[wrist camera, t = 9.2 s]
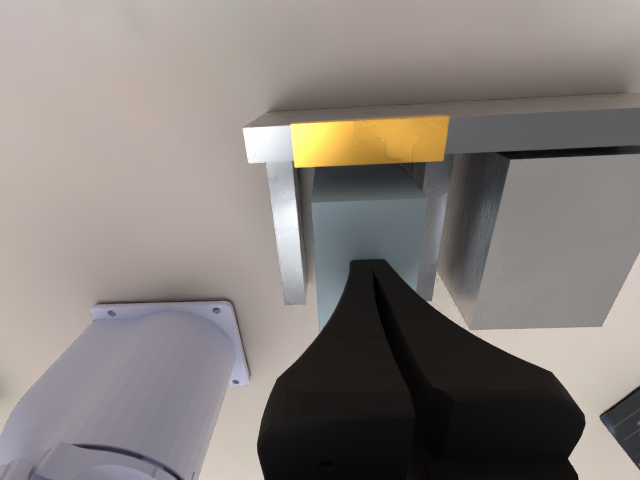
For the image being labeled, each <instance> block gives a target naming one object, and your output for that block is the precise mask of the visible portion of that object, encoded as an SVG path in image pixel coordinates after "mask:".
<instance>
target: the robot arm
mask: <svg viewBox="0 0 640 480" xmlns="http://www.w3.org/2000/svg"><path fill="white" fill-rule="evenodd" d="M349 265H350V270H349V275H348V279H347V282H346V285H345V288H344V290H343V293H342V295H341V297H340V300H339V302H338V304H337V306H336V308H335V310H334V312H333V313H332V315H331V317H330V319H329V320H328V322H327V323H326V325H325V326H324V328H323V329H322V331H321V332H320V334H319V335H318V336H317V338H316V339H315V340H314V341H313V343H312V344H311V345H310V346H309V347H308V348H307V350H306V351H305V352H304V353H303V354H302V355H301V356H300V357H299V359H298V360H297V361H296V362H295V363H293V364H292V365H291V366H290V367H289V368H288V369H287V370H286V371H285V372H284V373H283V374H282V375H281V376H280V377H279V378H277V380H276V383H275V385H274V387H273V389H272V392H271V394H270V396H269V399H268V402H267V404H266V407H265V410H264V414H263V417H262V421H261V426H260V431H259V436H258V442H257V453H258V457H259V460H260V464H261V468H262V472H263V475H264V479H265V480H579V479H578V474H577V473H576V471H575V469H574V468H573V466H572V465H571V463H570V461H569V460H568V458H569V456H570V454H571V453H572V451H573V449H574V448H575V446H576V444H577V443H578V441H579V439H580V438H581V436H582V433H583V430H584V427H585V424H586V423H585V415H584V413H583V412H582V411H581V409H580V408H579V407H578V405H577V404H576V402H575V401H574V400H573V398H572V397H571V396H570V394H569V393H568V391H567V390H566V389H565V387H564V386H563V385H562V384H561V383H560V381H559V380H558V379H557V378H556V377H555V376H554V374H553V373H552V372H550V371H548V370H545V369H543V368H541V367H539V366H536V365H534V364H532V363H529V362H527V361H525V360H522V359H520V358H518V357H515V356H513V355H511V354H509V353H507V352H505V351H503V350H501V349H499V348H497V347H495V346H493V345H491V344H489V343H488V342H486V341H484V340H482V339H480V338H478V337H477V336H475V335H473V334H472V333H470V332H468V331H467V330H465V329H464V328H462V327H460V326H459V325H457V324H456V323H454V322H453V321H451V320H450V319H448V318H447V317H446V316H444V315H443V314H442V313H440V312H439V311H437V310H436V309H435V308H434V307H432V306H431V305H430V304H429V303H427V302H426V301H425V300H424V299H423V298H422V297H420V296H419V295H418V294H417V293H416V292H415V291H414V290H413V289H412V288H411V287H410V286H409V285H408V284H407V283H406V282H405V281H404V280H403V279H402V278H401V277H400V276H399V275H398V273H397V272H396V271H395V270H394V269H393V268H392V267H391V266H390V264H389V263H388V262H387V261H386V260H385V259H369V260H352V261H351V262H350V263H349ZM215 307H216V308H219V309H220V310H218V309H216V308H215ZM113 311H114V312H113ZM89 312H90V315H91V316H92V318H93V320H94V321H93V322H92V323H91V324H90V325H89V326H88V327H87V328H86V329H85V331H84V332H83V333H82V334H81V335H80V336H79V337H78V338H77V339H76V340H75V341H74V342H73V343H72V344H71V345H70V346H69V348H68V349H67V350H66V351H65V352H64V353H63V354H62V355H61V356H60V357H59V358H58V359H57V360H56V361H55V362H54V363H53V364H52V366H51V367H50V368H49V369H48V370H47V371H46V372H45V373H44V374H43V375H42V376H41V377H40V378H39V379H38V380H37V381H36V383H35V384H34V385H33V386H32V387H31V388H30V389H29V390H28V391H27V392H26V393H25V394H24V396H23V397H22V398H21V399H20V401H19V402H18V403H17V405H16V406H15V408H14V409H13V411H12V413H11V414H10V416H9V418H8V420H7V422H6V424H5V426H4V429H3V431H2V434H1V437H0V480H198V478H199V474H200V471H201V468H202V465H203V462H204V459H205V456H206V452H207V449H208V446H209V443H210V440H211V437H212V433H213V430H214V427H215V424H216V421H217V418H218V415H219V411H220V408H221V405H222V402H223V399H224V396H225V392H226V389H227V386H246V385H248V384H249V381H250V376H249V372H248V368H247V364H246V359H245V355H244V351H243V347H242V343H241V338H240V334H239V330H238V326H237V321H236V317H235V313H234V309H233V306H232V304H231V303H230V302H227V301H204V302H169V303H134V304H99V305H94V306H93V307H92V308H91V309H90V311H89Z"/></svg>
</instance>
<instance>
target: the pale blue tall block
mask: <svg viewBox="0 0 640 480" xmlns="http://www.w3.org/2000/svg"><path fill="white" fill-rule="evenodd" d="M427 199H428V198H427V197H426V196H425V195H424V193H423V192H422V191H421V190H420V188H419V187H418V186H417V185H416V183H415V182H414V181H413V180H412V179H411V177H410V176H409V175H408V174H407V172H406V171H405V170H404V169H403V168H402V166H401V165H400V164H399V163H387V164H365V165H344V166H322V167H315V174H314V183H313V191H312V200H311V208H312V224H313V239H314V254H315V270H316V285H317V300H318V315H319V331H320V332H321V331H322V329H323V328H324V326H325V325H326V323H327V322H328V320H329V319H330V317H331V315H332V313H333V312H334V310H335V308H336V306H337V304H338V302H339V300H340V297H341V295H342V293H343V290H344V288H345V285H346V282H347V279H348V275H349V270H350V265H349V263H350V262H351V261H352V260H369V259H385V260H386V261H387V262H388V263H389V264H390V266H391V267H392V268H393V269H394V270H395V271H396V272H397V273H398V275H399V276H400V277H401V278H402V279H403V280H404V281H405V282H406V283H407V284H408V285H409V286H410V287H411V288H412V289H413V290H414V291H415V292H416V288H417V280H418V272H419V264H420V256H421V248H422V240H423V232H424V224H425V215H426V207H427Z"/></svg>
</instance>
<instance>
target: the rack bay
mask: <svg viewBox="0 0 640 480" xmlns="http://www.w3.org/2000/svg"><path fill="white" fill-rule="evenodd" d="M243 133H244V139H245V145H246V152H247V158H248V163H266V168H267V176H268V183H269V190H270V198H271V205H272V213H273V220H274V228H275V235H276V243H277V250H278V257H279V265H280V272H281V280H282V287H283V295H284V302H285V305H298V304H306V294H307V273H306V262H305V250H304V238H303V227H302V215H301V204H300V192H299V181H298V169H297V168H300V167H322V166H344V165H365V164H387V163H409V162H414V165H413V176H412V180H413V181H414V182H415V183H416V185H417V186H418V187H419V188H420V190H421V191H422V192H423V193H424V195H425V196H426V197H427V198H428V199H427V207H426V215H425V224H424V232H423V240H422V248H421V256H420V264H419V272H418V280H417V288H416V293H417V294H418V295H419V296H420V297H422V298H423V299H424V300H425V301H432V296H433V289H434V283H435V276H436V269H437V272H438V274H439V276H440V277H441V279H442V281H443V283H444V285H445V286H446V288H447V290H448V292H449V294H450V295H451V297H452V299H453V301H454V303H455V304H456V306H457V308H458V310H459V311H460V313H461V315H462V317H463V319H464V320H465V322H466V324H467V326H468V328H469V329H470V330H485V329H527V328H569V327H602V325H603V323H604V321H605V319H606V317H607V315H608V313H609V311H610V309H611V307H612V305H613V303H614V301H615V299H616V297H617V295H618V294H619V292H620V290H621V288H622V286H623V284H624V282H625V280H626V278H627V276H628V274H629V272H630V270H631V268H632V266H633V264H634V262H635V260H636V258H637V256H638V254H639V252H640V93H609V94H591V95H572V96H553V97H534V98H516V99H497V100H478V101H460V102H441V103H422V104H404V105H385V106H366V107H348V108H329V109H310V110H292V111H273V112H266V113H265V114H263V115H262V116H260V117H259V118H257V119H256V120H254V121H253V122H251V123H250V124H248V125H246V126H245V127H243ZM453 158H454V159H453ZM452 165H453V166H452ZM451 171H452V173H451ZM450 178H451V179H450ZM449 184H450V186H449ZM448 191H449V192H448ZM447 197H448V199H447ZM446 204H447V205H446ZM445 210H446V212H445ZM444 217H445V218H444ZM443 224H444V225H443ZM442 230H443V231H442ZM441 237H442V238H441ZM440 243H441V244H440ZM439 250H440V251H439ZM438 256H439V258H438ZM437 263H438V264H437Z"/></svg>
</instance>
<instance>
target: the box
mask: <svg viewBox="0 0 640 480" xmlns="http://www.w3.org/2000/svg"><path fill="white" fill-rule="evenodd" d="M600 420H601V421H602V422H603V424H604V425H605V426H606V427H607V429H608V430H609V432H610V433H611V434H612V435H613V437H614V438H615V439H616V440H617V442H618V443H619V444H620V446H621V447H622V448H623V449H624V451H625V452H626V453H627V454H628V456H629V457H630V458H631V460H632V461H633V462H634V463H635V465H636V466H637V467H638V468H639V470H640V389H639V390H638V391H637V392H635V393H634V394H633V395H631V396H630V397H629V398H627V399H626V400H624V401H623V402H621V403H620V404H619V405H617V406H616V407H615V408H614V409H612V410H610V411H609V412H606V413H605V414H604V415H602V416H601V417H600Z"/></svg>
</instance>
